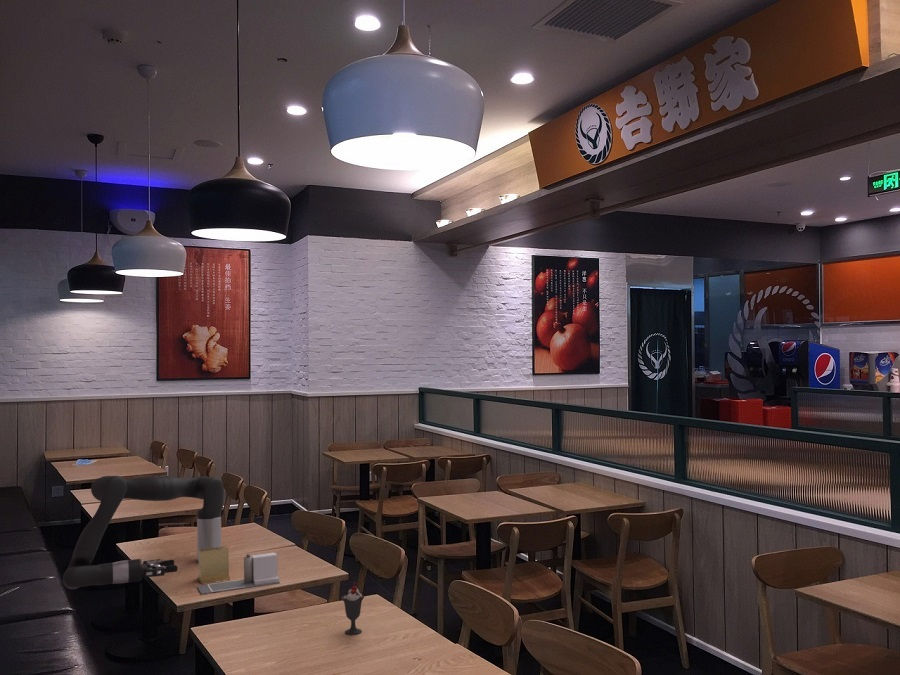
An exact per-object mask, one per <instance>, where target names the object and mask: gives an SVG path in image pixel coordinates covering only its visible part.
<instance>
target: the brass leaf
mask: <svg viewBox="0 0 900 675" xmlns="http://www.w3.org/2000/svg"><path fill="white" fill-rule="evenodd" d="M229 554H230V552H229V547H228V546H227V545H223V546H222V545H221V547H213V548H205V549H199V562H198V575H197V579H198V581H199V580H200V581H199V583H200V582H201V583H200V584H201V585H203V584H202V583H206V584H210V583H209V582H213V583H217V582H216V581H220V582H224V581H223V580H227V581H231V576H230V567H229V566H230V565H229V563H230V561H229V559H230V558H229V557H230V556H229Z"/></svg>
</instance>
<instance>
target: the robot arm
mask: <svg viewBox="0 0 900 675" xmlns="http://www.w3.org/2000/svg"><path fill="white" fill-rule="evenodd" d="M224 489H225V488H224V484H223V481H222V480H221V478H218V477H215V476H207V475H203V476H197V477H194V476H193V477H186V478H183V477H177V476H166V475H164V476H163V475H162V476H160V475H158V476H157V475H155V476H154V475H153V476H142V477H135V478H134V477H133V478H124V477H122V476H119V475H103V476H101V477H99V478H97V479H96V480H95V481H93V483H92V485H91V488H90V491H91V492H90V493H91V495H92V496H93V498H94V499H95V500H97V501H100V503H99V505H98V507H97V509H96V511H95V514H94V515H93V516H92V518H91V519H90V521H89V522H88V523H87V524H86V526H84V529H83V530H82V532H81V534H80V535H79V537H78V540H77V542H76V544H75V547H74V549H73V553H72V556H71V560H70V562H69V564H68V566H67V568H66V571H65V572H64V573H63V574H62V583H63V585H64V587H66V588H67V589H70V590H76V589H79V588H82V587H88V586H89V587H90V586H104V585H111V584H113V585H114V584H125V583H133V582H140V581H142V578H143V576H145V577H146V578H154V577H161V576H162V577H163V576H165V575H166V574H168V573H176V572H178V566H177V565H176V564H175V559H167V560H162V559H160V558H158V559H151V560H144V561H143V562H142V559H141V558H134V559H126V560H120V561H115V562H108V563H107V562H106V563H100V564H97V565H92V564H91V563H92V562H93V560H94V558H95V556H96V554H97V551H98V550H99V547H100V544H101V541H102V539H103V537H104V534H105V532H106V530H107V529H108V526H109V524H110V522H111V520H112V519H113V517H114V516H115V514H116V512H117V510H118V509H119V506H120V505H121V503H122V501H123V500H127V499H129V500H138V501H146V502H147V501H149V502H163V501H164V502H165V501H172V500H175V499H178V498H193V499H199V500H203V501H202V502H203V503H202V507H201V508H200V509H198V510H197V512H196V526H197V527H196V528H197V530H196V531H197V532H196V536H197V537H196V539H197V542H196V543H197V544H196V546H197V547H196V549H197V551H196V552H197V553H196V554H197V555H196V557H197V560H196V561H197V562H198V563H199V549H205V548H213V547H221V546H222V511H223V508H224V496H225V495H224V494H225V493H224V492H225V490H224Z"/></svg>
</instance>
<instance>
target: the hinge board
mask: <svg viewBox="0 0 900 675" xmlns="http://www.w3.org/2000/svg"><path fill="white" fill-rule="evenodd" d="M269 584H271V585H278V584H281V582H280V578H279V576H278V554H277V553H276V552H269V553H268V552H267V553H260V554H253V555H251V554H250V553H247V554H246V555H245V556H244V557H243V578H242V579H235V580H227V581H220V582H213V583H206V584H201V585H197V586H196V588H197V589H199V590H198V591H200V592H199V593H200V595H201V594H204V595H208V594H207V593H210V594H214V593H213V592H217V593H221V592H220V591H224V592H229V591H230V590H231V591H236V590H243V589H250V588H257V586H258V587H263V586H262V585H264V586H269Z"/></svg>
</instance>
